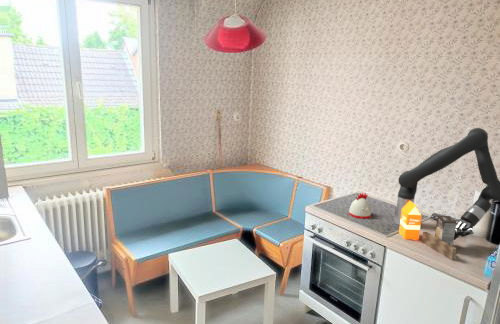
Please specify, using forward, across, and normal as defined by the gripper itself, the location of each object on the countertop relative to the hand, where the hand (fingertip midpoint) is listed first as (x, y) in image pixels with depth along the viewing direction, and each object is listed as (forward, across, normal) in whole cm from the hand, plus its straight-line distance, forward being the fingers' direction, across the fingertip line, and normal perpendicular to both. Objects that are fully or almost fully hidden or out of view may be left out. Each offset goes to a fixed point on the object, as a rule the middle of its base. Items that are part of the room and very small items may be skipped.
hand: (451, 239), depth 181 cm
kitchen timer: (+18, -51, -12) cm, 56 cm away
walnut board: (+10, +2, -4) cm, 11 cm away
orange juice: (+12, -16, -6) cm, 21 cm away
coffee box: (+6, -1, 0) cm, 6 cm away
